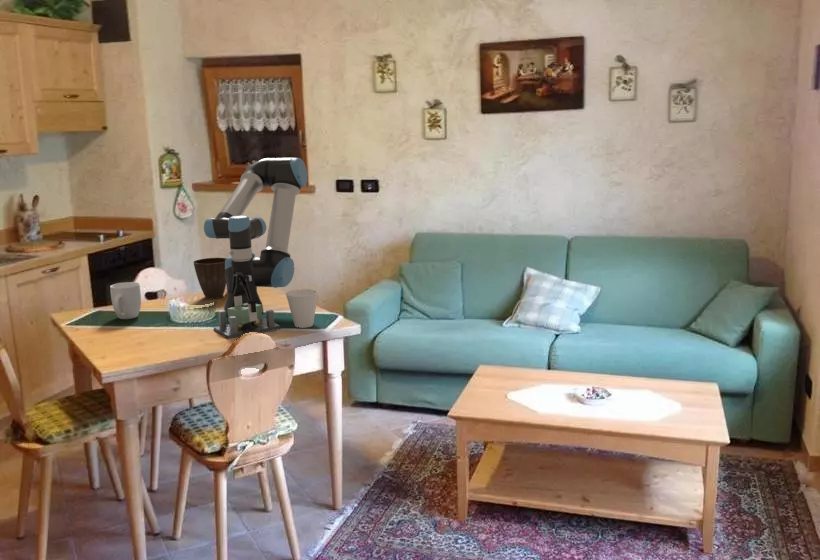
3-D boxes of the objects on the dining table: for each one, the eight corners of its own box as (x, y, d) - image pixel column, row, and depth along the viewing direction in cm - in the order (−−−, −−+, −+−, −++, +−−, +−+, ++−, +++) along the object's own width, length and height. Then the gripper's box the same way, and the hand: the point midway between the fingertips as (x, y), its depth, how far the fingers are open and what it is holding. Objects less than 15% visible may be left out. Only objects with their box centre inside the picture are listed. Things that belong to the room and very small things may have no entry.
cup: (290, 321, 290) (288, 289, 288) (322, 320, 290) (320, 288, 287) (285, 329, 279) (282, 296, 276) (317, 329, 278) (315, 295, 276)
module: (242, 324, 274) (241, 309, 272) (228, 322, 277) (227, 306, 276) (262, 318, 282) (261, 303, 280) (248, 315, 286) (247, 301, 284)
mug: (132, 323, 294) (128, 290, 291) (104, 323, 295) (100, 290, 292) (147, 313, 309) (144, 281, 306) (120, 313, 309) (117, 282, 307)
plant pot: (204, 292, 343) (200, 257, 339) (236, 292, 341) (233, 257, 338) (191, 300, 328) (188, 264, 325) (225, 300, 327) (222, 263, 323)
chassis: (227, 338, 270) (226, 319, 268) (213, 330, 281) (212, 311, 280) (280, 328, 280) (279, 310, 279) (265, 321, 292) (263, 303, 290)
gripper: (219, 256, 283) (224, 311, 288) (244, 265, 263) (249, 325, 267) (238, 253, 287) (243, 308, 292) (265, 263, 267) (269, 322, 271)
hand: (246, 317), depth 280 cm, fingers open, 13 cm apart
